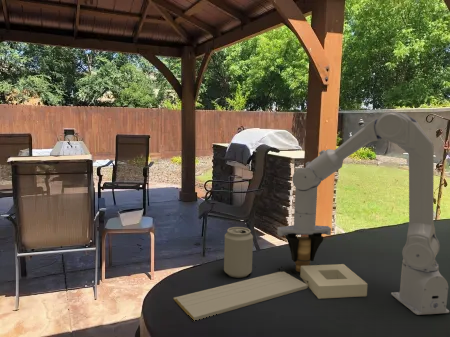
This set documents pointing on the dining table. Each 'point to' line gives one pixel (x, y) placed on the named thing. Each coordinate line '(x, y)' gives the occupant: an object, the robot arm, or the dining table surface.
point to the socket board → (333, 281)
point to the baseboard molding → (239, 294)
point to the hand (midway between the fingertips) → (302, 260)
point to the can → (238, 252)
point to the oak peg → (303, 252)
